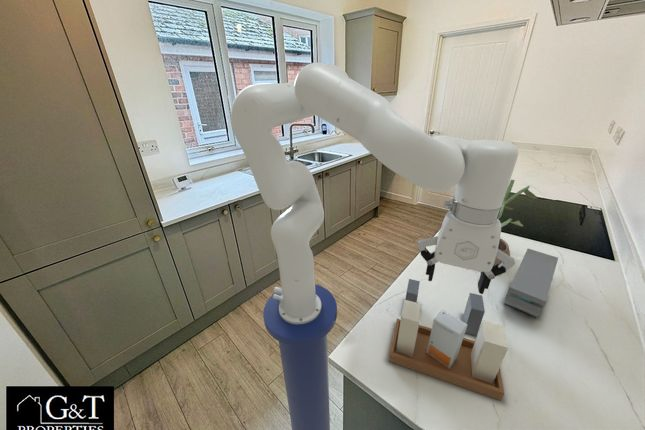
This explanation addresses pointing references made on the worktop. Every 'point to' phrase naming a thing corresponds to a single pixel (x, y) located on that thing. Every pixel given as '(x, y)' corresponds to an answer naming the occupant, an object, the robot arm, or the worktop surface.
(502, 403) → the worktop surface
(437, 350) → the cosmetic box
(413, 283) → the grey carton
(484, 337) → the cream box right
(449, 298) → the worktop surface
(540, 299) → the grey rectangular box
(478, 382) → the tray
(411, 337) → the cream box left
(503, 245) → the potted plant
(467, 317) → the grey carton
